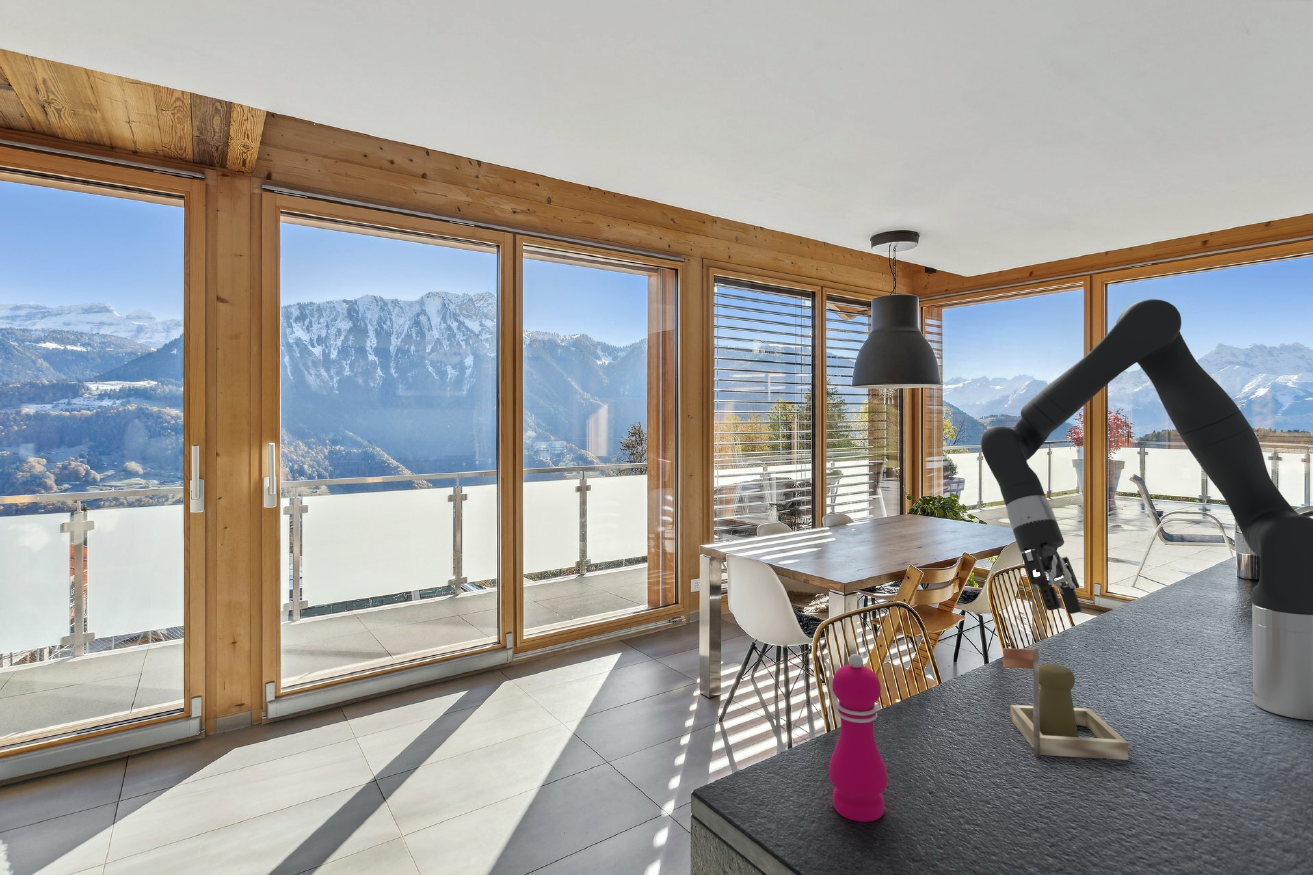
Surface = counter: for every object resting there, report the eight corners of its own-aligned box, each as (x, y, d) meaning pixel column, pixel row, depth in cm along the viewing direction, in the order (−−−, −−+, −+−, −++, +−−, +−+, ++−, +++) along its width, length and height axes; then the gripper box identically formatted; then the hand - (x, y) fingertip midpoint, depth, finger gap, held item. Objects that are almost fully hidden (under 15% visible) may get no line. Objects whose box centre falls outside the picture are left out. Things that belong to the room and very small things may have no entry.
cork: (1085, 746, 101) (1084, 674, 101) (1041, 743, 103) (1040, 672, 102) (1069, 728, 107) (1069, 660, 107) (1028, 725, 108) (1027, 658, 108)
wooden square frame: (1089, 723, 109) (1088, 626, 109) (1131, 762, 96) (1129, 652, 96) (979, 718, 112) (978, 622, 111) (1005, 755, 99) (1004, 647, 99)
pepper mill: (821, 794, 89) (819, 646, 89) (874, 791, 90) (871, 643, 90) (841, 826, 82) (838, 665, 82) (897, 822, 83) (895, 662, 83)
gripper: (1036, 512, 119) (1069, 603, 111) (1070, 523, 127) (1104, 609, 120) (996, 525, 124) (1025, 613, 116) (1031, 535, 132) (1061, 618, 125)
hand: (1065, 611), depth 118 cm, fingers open, 8 cm apart
